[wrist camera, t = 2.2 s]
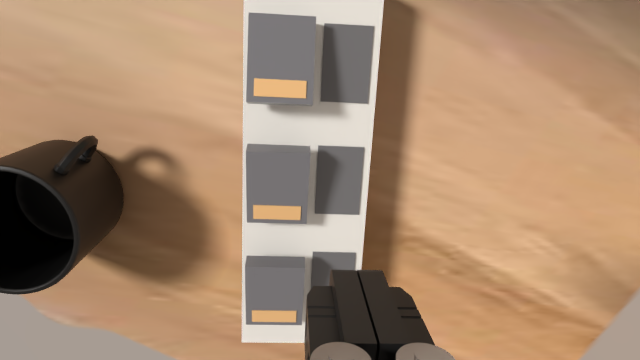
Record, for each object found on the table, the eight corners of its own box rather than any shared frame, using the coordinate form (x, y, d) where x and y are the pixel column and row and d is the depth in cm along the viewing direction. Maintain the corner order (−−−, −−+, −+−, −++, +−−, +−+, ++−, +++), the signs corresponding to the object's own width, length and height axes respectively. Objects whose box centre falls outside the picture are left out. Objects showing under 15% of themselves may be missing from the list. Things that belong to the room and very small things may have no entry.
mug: (163, 160, 39) (127, 192, 31) (88, 262, 41) (34, 319, 33) (64, 91, 37) (-5, 104, 29) (-9, 201, 39) (-95, 245, 31)
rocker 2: (247, 143, 34) (245, 151, 32) (310, 146, 34) (310, 154, 33) (248, 212, 36) (246, 223, 35) (306, 214, 37) (306, 224, 35)
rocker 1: (250, 18, 32) (248, 12, 31) (315, 22, 33) (316, 16, 31) (248, 103, 33) (246, 101, 31) (311, 106, 33) (313, 104, 32)
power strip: (249, -22, 36) (243, -31, 32) (375, -14, 36) (386, -22, 32) (246, 316, 44) (241, 343, 40) (349, 317, 45) (355, 344, 41)
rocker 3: (246, 255, 36) (244, 267, 35) (304, 256, 36) (305, 268, 35) (247, 312, 39) (245, 325, 38) (301, 313, 39) (301, 326, 38)
